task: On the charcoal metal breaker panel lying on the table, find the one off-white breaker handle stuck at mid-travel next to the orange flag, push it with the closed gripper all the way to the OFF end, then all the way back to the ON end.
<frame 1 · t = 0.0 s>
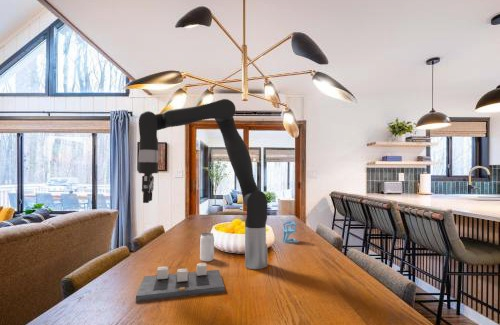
hand: (147, 201, 103), 29 cm above the table, tool pointing down, fingers open, 8 cm apart
breaker tripped: (182, 274, 91), point 4 cm above the table, slide at 0.0 cm
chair: (289, 242, 154), on the table
breaker 1: (162, 272, 94), point 4 cm above the table, slide at -4.0 cm
can: (207, 260, 121), on the table
breaker 2: (201, 268, 97), point 4 cm above the table, slide at -4.0 cm
breaker panel: (182, 286, 91), on the table
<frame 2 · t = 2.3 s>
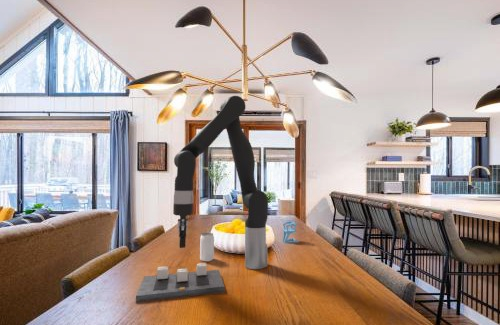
hand: (182, 247, 99), 12 cm above the table, tool pointing down, fingers closed
nothing on the table moved.
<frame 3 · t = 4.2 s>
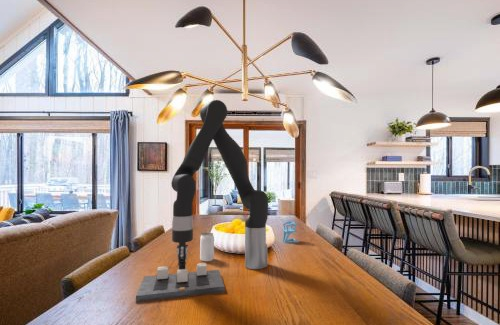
hand: (182, 275, 94), 3 cm above the table, tool pointing down, fingers closed
breaker tripped: (182, 274, 91), point 4 cm above the table, slide at 0.5 cm, touching gripper
everything else where it was.
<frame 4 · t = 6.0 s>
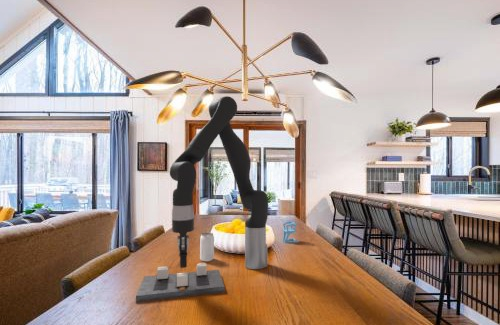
hand: (183, 266, 90), 7 cm above the table, tool pointing down, fingers closed
breaker tripped: (182, 278, 87), point 4 cm above the table, slide at 4.1 cm
everything else where it was.
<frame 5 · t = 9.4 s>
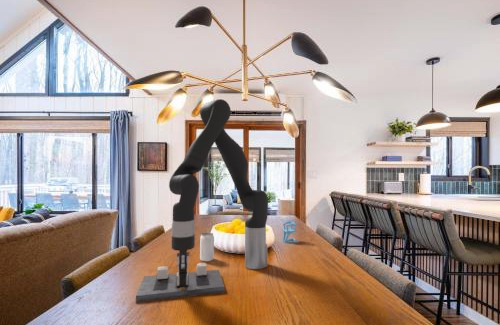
hand: (182, 286, 85), 3 cm above the table, tool pointing down, fingers closed
breaker tripped: (182, 278, 88), point 4 cm above the table, slide at 3.3 cm, touching gripper
everything else where it was.
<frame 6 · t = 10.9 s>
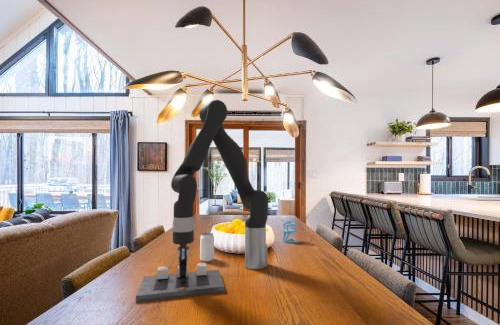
hand: (182, 277, 92), 3 cm above the table, tool pointing down, fingers closed
breaker tripped: (182, 270, 95), point 4 cm above the table, slide at -4.1 cm, touching gripper
everything else where it was.
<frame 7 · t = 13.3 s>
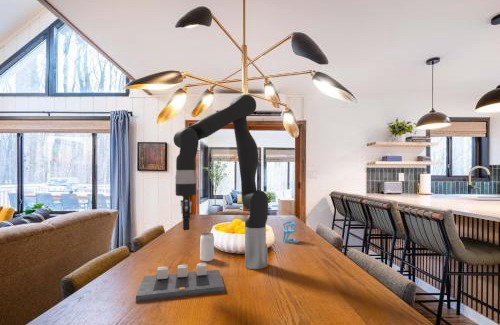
hand: (186, 229, 94), 20 cm above the table, tool pointing down, fingers closed
breaker tripped: (182, 270, 95), point 4 cm above the table, slide at -4.1 cm
everything else where it was.
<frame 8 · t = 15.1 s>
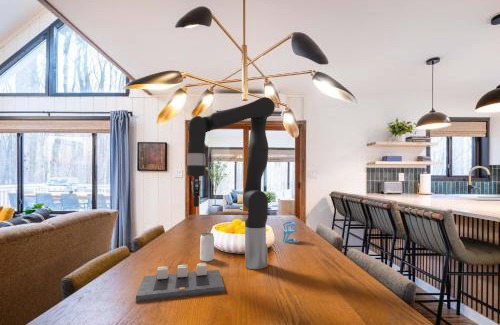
hand: (195, 206, 105), 27 cm above the table, tool pointing down, fingers closed
nothing on the table moved.
at the end: breaker tripped slide at -4.1 cm; breaker 2 slide at -4.0 cm; breaker 1 slide at -4.0 cm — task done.
